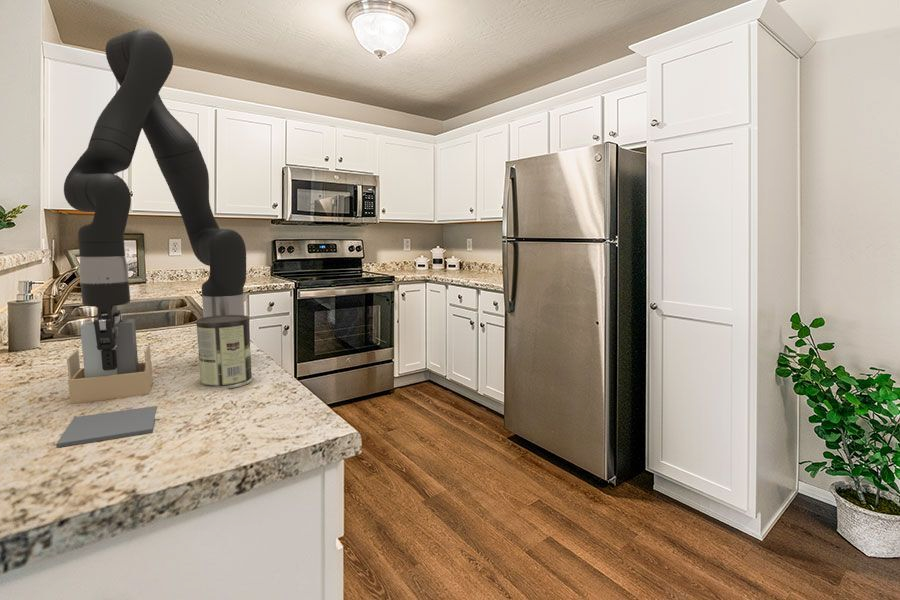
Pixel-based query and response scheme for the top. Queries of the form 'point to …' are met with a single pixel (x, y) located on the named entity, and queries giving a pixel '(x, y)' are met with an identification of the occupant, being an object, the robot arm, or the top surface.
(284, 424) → the top surface
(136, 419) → the mat
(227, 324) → the coffee can
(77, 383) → the carton
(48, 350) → the top surface
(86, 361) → the box
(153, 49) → the robot arm
